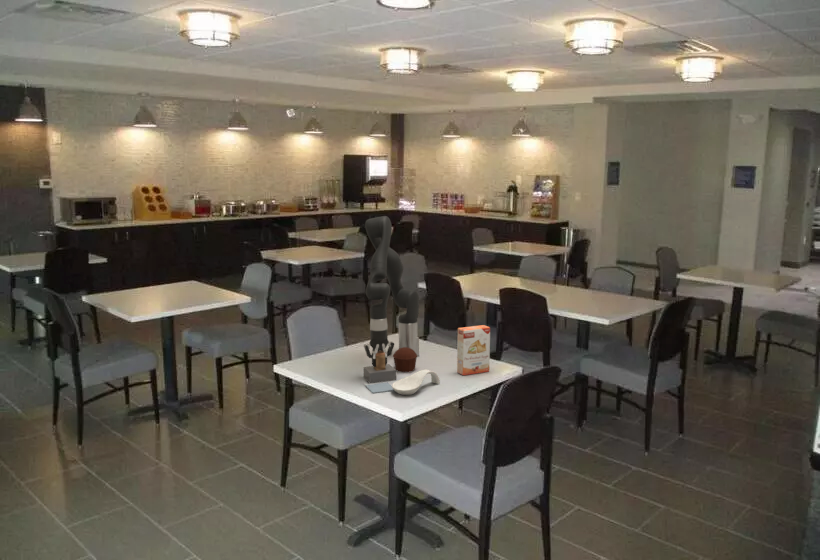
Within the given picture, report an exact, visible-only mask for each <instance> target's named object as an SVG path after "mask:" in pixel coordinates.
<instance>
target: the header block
mask: <svg viewBox="0 0 820 560" xmlns="http://www.w3.org/2000/svg"><path fill="white" fill-rule="evenodd" d="M362 369H363V373H362V375H363V378H364V379H365V380H366V381H367V382H368V383H369V384H378V383H386V382H391V381H397V370H396V369H395V367H393V366H392V365H391V364H389V363H387V364H386V366H385V370H378V371H376V370H375V369H374V366H373V365H369V366H368V365H367V366H363V367H362Z"/></svg>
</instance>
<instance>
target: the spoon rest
mask: <svg viewBox="0 0 820 560" xmlns="http://www.w3.org/2000/svg"><path fill="white" fill-rule="evenodd" d="M428 374H430V376H431V383H433V384H437V385H440V384H441V379H440V377H439V375H438V374H437V372H435V371H432V370H429V369H422V370H419V371H417V372H415V373H413V374H410V375H408V376H406V377H403V378H401V379H397V380H395V382H393V383H392V384H391V386H392V388H393V389H394V390H395V391H394V392H395V393H397V394H399V395H403V396H412V395H413V394H415V393H416V392H417V391H418V390H419V389H420V387H421V385H422V383H423V381H424V379H425V377H426V376H427V375H428Z"/></svg>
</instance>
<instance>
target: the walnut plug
mask: <svg viewBox="0 0 820 560" xmlns="http://www.w3.org/2000/svg"><path fill="white" fill-rule="evenodd" d="M375 359H376V367H374V369H375V370H376V371H378V370H385V353H384V352H383V351H377V354H376V358H375Z"/></svg>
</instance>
